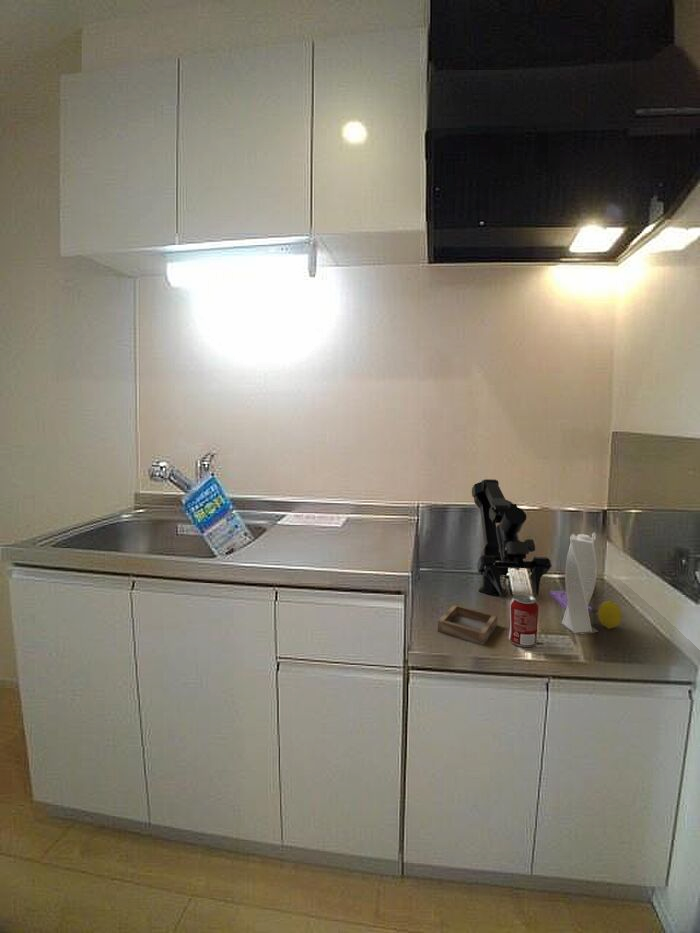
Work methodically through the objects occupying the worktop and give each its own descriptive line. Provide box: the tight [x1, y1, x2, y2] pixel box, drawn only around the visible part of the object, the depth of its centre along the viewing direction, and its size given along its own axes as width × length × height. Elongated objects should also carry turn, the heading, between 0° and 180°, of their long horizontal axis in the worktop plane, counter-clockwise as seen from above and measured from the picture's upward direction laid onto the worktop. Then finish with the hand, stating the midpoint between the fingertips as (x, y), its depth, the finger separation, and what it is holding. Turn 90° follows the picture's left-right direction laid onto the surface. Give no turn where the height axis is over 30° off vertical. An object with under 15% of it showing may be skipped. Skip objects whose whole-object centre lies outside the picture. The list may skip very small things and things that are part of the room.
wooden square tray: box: [437, 603, 498, 646], centre depth 117 cm, size 12×12×3 cm
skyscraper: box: [557, 531, 599, 635], centre depth 116 cm, size 8×8×28 cm
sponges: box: [549, 590, 593, 611], centre depth 133 cm, size 7×13×2 cm, turn 0°
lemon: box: [597, 600, 622, 629], centre depth 117 cm, size 6×6×8 cm
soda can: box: [507, 593, 539, 648], centre depth 110 cm, size 7×7×12 cm
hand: (519, 594), depth 113 cm, fingers open, 9 cm apart
